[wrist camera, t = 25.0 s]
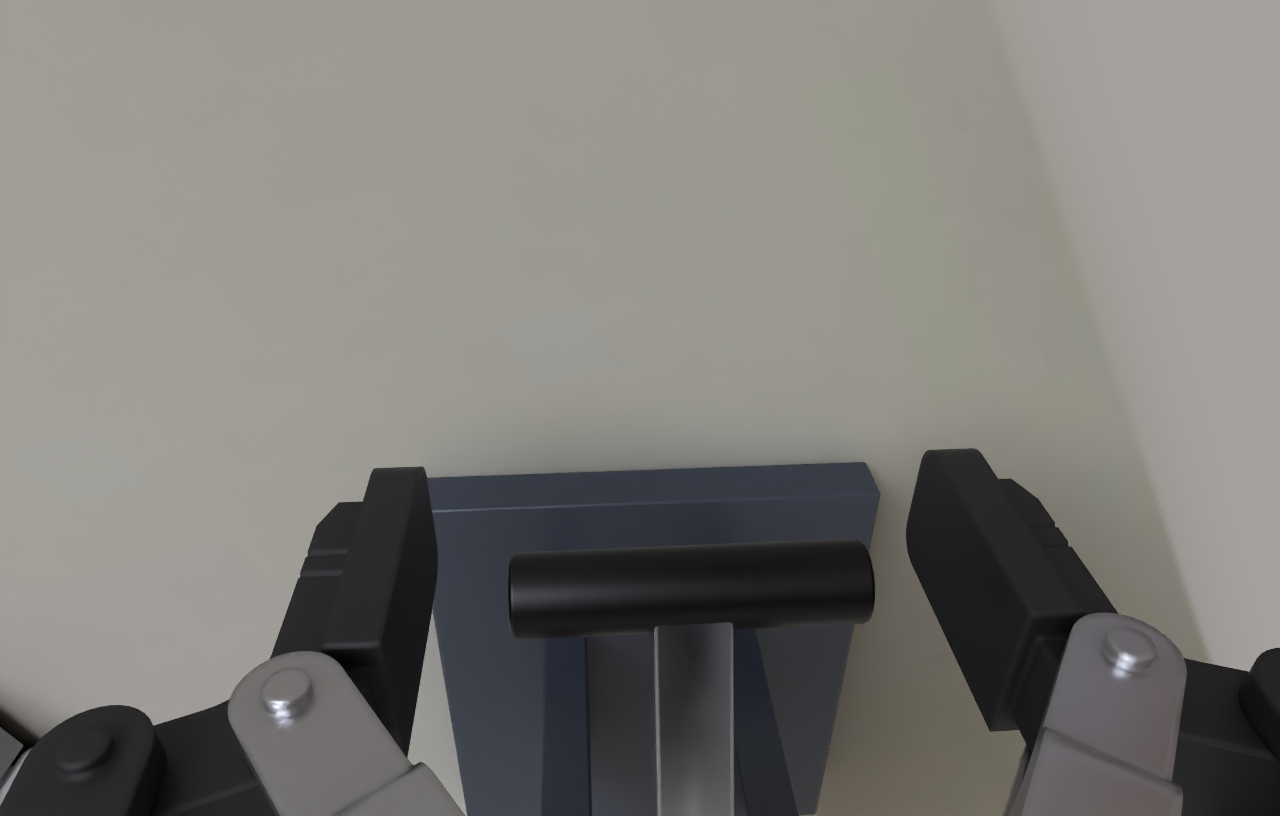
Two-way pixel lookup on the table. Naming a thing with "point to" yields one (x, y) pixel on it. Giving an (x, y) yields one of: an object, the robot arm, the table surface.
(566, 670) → the bracket
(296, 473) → the table surface
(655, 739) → the tap lever
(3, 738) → the circuit board
